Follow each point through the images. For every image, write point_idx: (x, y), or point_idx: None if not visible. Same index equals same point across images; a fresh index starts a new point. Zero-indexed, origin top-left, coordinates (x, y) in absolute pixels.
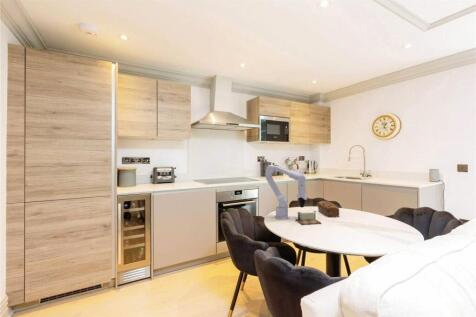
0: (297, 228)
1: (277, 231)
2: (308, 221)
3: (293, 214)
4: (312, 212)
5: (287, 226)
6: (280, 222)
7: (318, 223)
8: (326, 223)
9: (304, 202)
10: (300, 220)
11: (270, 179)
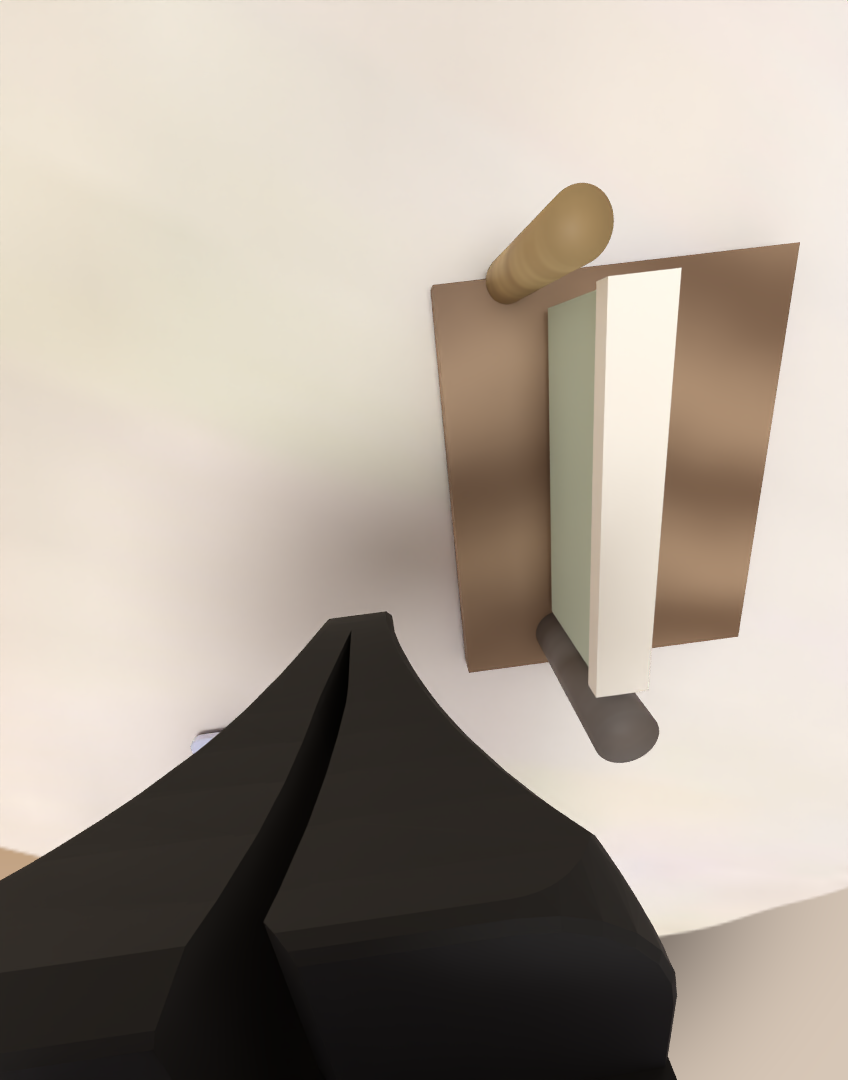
0: (823, 708)
1: (821, 895)
2: None
3: (71, 599)
4: (667, 366)
5: (709, 796)
6: None
7: (775, 316)
8: (792, 93)
9: (453, 731)
10: None
11: None
